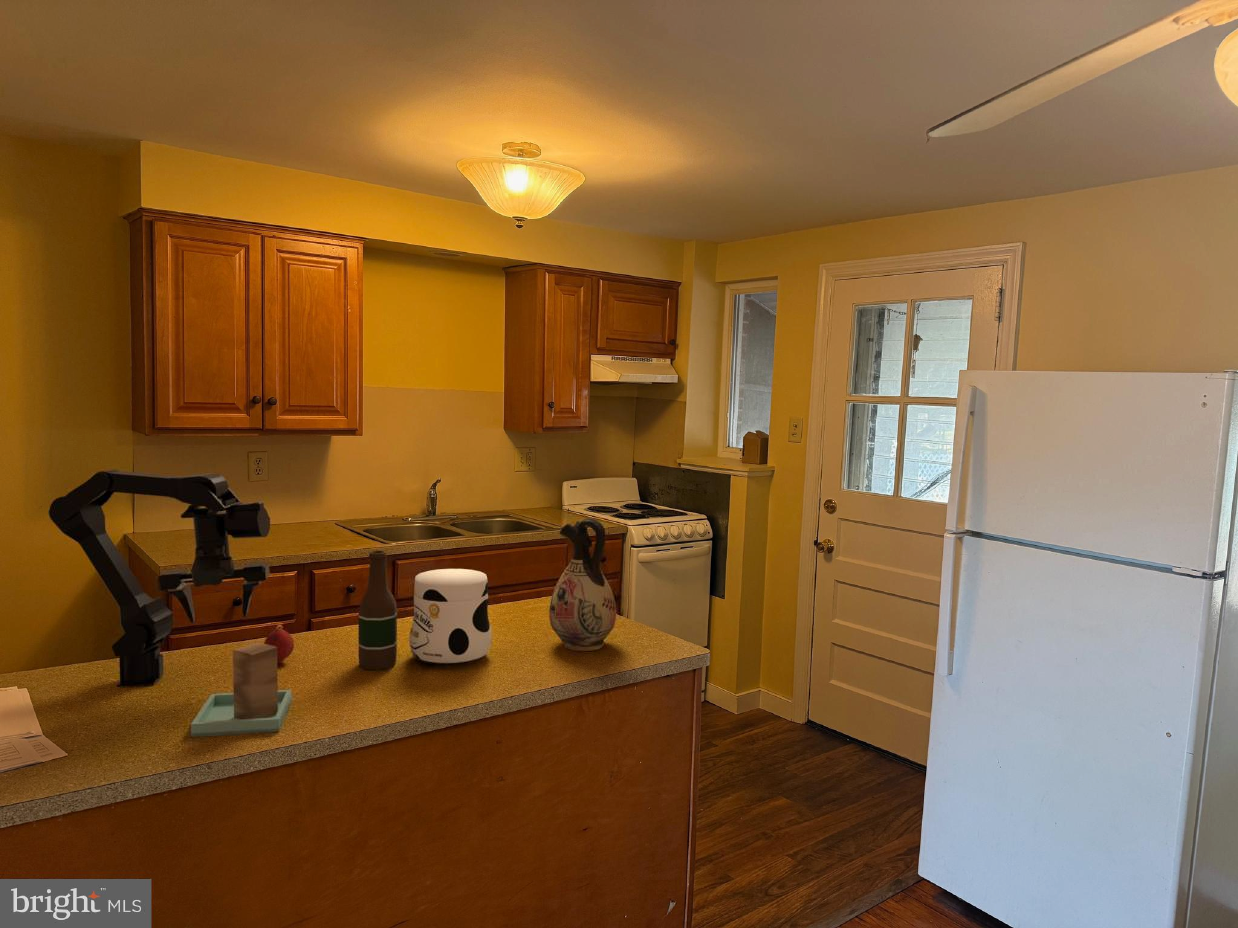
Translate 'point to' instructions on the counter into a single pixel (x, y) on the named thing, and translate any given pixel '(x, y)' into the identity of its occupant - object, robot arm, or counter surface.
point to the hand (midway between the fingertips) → (219, 619)
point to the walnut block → (255, 681)
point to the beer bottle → (377, 619)
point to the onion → (281, 643)
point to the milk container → (450, 617)
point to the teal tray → (221, 718)
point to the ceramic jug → (583, 593)
